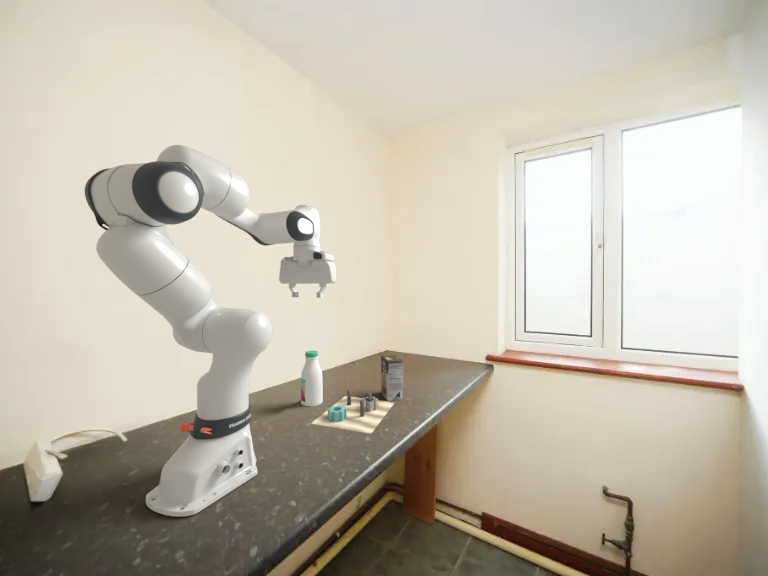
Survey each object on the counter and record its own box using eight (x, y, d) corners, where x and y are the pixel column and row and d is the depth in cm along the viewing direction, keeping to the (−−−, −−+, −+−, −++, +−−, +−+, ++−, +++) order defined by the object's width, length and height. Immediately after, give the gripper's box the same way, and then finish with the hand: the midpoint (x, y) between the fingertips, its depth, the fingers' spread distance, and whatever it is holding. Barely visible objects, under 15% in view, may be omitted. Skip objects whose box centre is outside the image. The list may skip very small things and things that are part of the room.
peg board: (371, 438, 86) (371, 416, 86) (310, 428, 93) (310, 407, 93) (394, 406, 109) (394, 388, 109) (345, 399, 116) (345, 383, 116)
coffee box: (380, 396, 119) (380, 355, 119) (395, 394, 121) (395, 354, 121) (387, 405, 111) (387, 361, 110) (403, 403, 112) (403, 360, 112)
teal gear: (341, 423, 93) (341, 413, 93) (324, 420, 95) (324, 411, 95) (349, 415, 98) (349, 406, 98) (333, 413, 100) (333, 404, 100)
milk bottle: (325, 402, 113) (325, 349, 113) (318, 410, 106) (318, 354, 105) (305, 401, 114) (305, 349, 114) (297, 409, 106) (297, 353, 106)
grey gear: (376, 412, 101) (376, 403, 101) (359, 410, 102) (359, 402, 102) (379, 405, 107) (379, 396, 107) (363, 404, 108) (363, 395, 108)
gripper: (274, 256, 100) (275, 297, 100) (329, 254, 94) (329, 298, 94) (286, 257, 106) (286, 296, 106) (338, 255, 100) (338, 297, 100)
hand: (307, 297), depth 100 cm, fingers open, 8 cm apart
